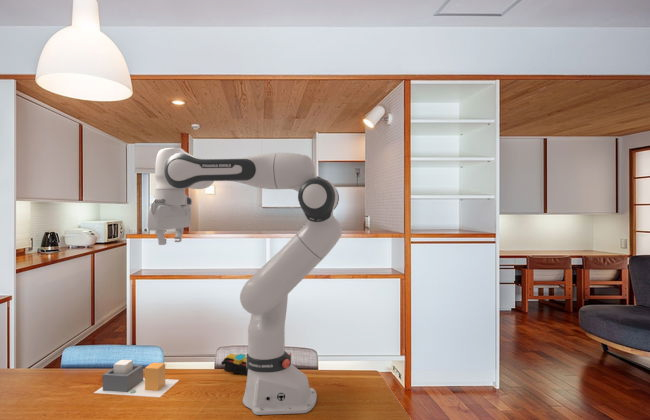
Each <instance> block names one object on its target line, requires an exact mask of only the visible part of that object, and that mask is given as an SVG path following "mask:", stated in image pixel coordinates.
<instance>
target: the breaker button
mask: <svg viewBox="0 0 650 420" xmlns="http://www.w3.org/2000/svg"><path fill="white" fill-rule="evenodd" d="M133 365H134V359H120V360H118V361H116V363H115V362H114V364H113V368H114V374H124V375H127V374H128V373H130V372H131V371H132V370H133Z"/></svg>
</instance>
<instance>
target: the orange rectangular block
mask: <svg viewBox="0 0 650 420" xmlns="http://www.w3.org/2000/svg"><path fill="white" fill-rule="evenodd" d="M144 378H145V390H152V391H158V390H159V389H161V388H162V387H163V386H164V385H165V379H166V362H151V363H150V364H148V365H147V366H145V367H144Z"/></svg>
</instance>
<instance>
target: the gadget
mask: <svg viewBox="0 0 650 420" xmlns="http://www.w3.org/2000/svg"><path fill="white" fill-rule="evenodd" d="M246 358H247V354H244V353H239V354H234V353H229V354H228V355H227V356H226V357H224V358H223V360H221V365H222V366H224V367H223V370H224V371H227V372H230V373H232V372H233V373H232V374H241V375H245V376H247V373H248V372H247V368H246Z"/></svg>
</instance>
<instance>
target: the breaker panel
mask: <svg viewBox="0 0 650 420" xmlns="http://www.w3.org/2000/svg"><path fill="white" fill-rule="evenodd" d="M179 380H180V379H171V378H165V385H164V386H163V387H162V388H161V389H159V390H158V391H152V390H145V377H144V365H141V364H133V370H132V371H131V372H130V373H128V374H127V375H124V374H114V367H113V368H111V369H109V370H108V371H106V372H105V373H103V374H102V386H101V387H100V388H99V389H97V390H96V391H94V392H93V394H100V395H101V394H105V395H116V396H117V395H119V396H120V395H121V396H135V397H148V398H161V397H162V396H164V394H165V393H166V392H168V390H170V389H171V388H172V387H173V386H175V385H176V384H177V383H178V382H179Z"/></svg>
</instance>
